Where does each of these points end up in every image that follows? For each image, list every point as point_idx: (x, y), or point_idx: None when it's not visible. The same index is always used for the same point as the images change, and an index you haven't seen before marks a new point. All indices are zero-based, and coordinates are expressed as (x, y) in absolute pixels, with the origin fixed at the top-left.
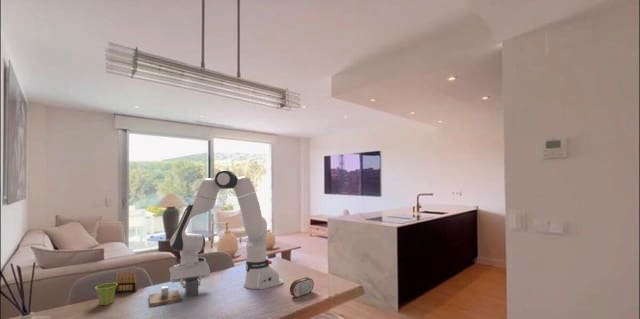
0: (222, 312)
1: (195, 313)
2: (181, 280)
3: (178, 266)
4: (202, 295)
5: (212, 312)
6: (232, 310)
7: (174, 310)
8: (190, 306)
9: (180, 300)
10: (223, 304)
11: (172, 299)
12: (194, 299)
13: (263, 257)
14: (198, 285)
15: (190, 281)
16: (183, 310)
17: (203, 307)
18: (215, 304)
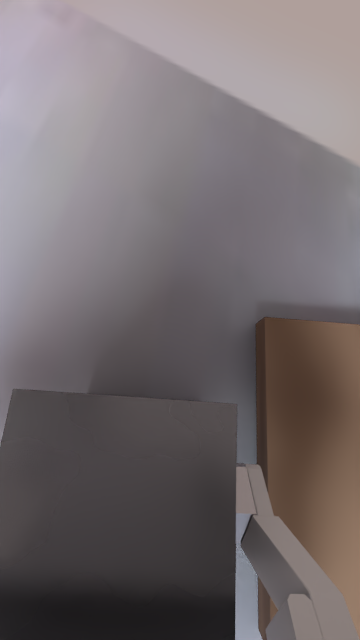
0: (63, 13)
1: (197, 76)
2: (321, 608)
3: None
4: (55, 361)
5: (110, 39)
6: (5, 5)
7: (309, 179)
8: (204, 183)
9: (261, 321)
10: (3, 97)
11: (336, 328)
12: (147, 301)
13: None
14: None
15: (153, 438)
16: (255, 149)
17: (132, 123)
18: (47, 124)
